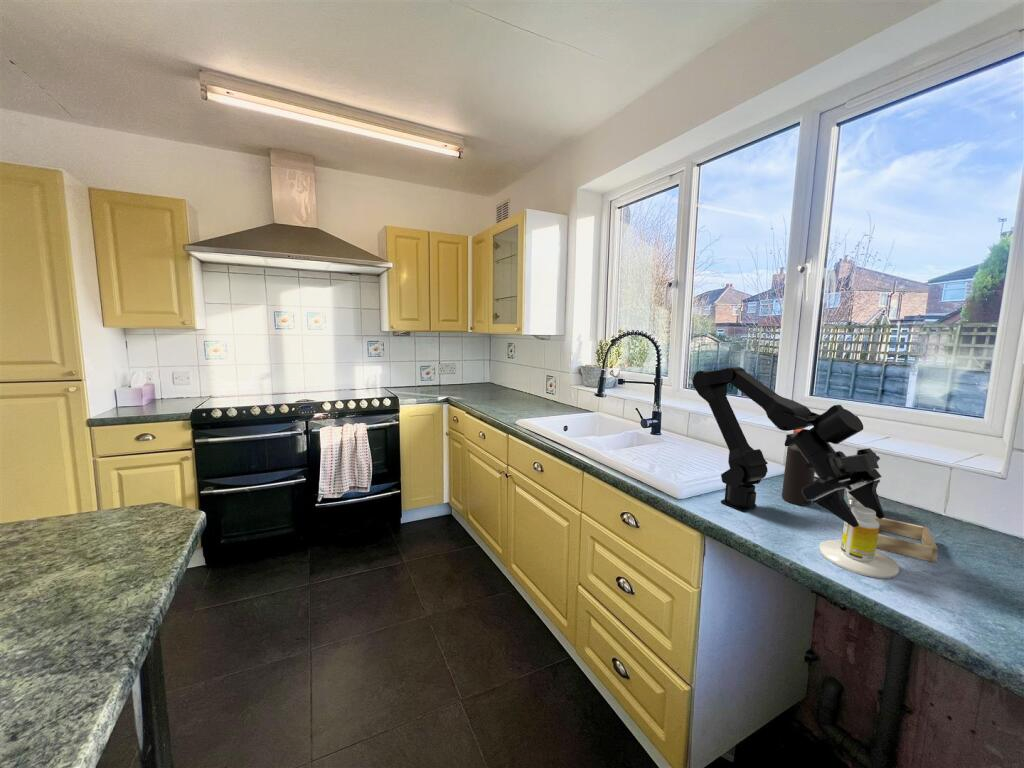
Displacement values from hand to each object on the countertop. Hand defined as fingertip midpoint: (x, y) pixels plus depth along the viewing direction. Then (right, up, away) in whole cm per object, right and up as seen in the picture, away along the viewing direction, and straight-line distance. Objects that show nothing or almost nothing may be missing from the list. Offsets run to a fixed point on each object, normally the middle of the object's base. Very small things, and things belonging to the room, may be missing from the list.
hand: (869, 522), depth 87 cm
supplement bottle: (-1, -8, +3) cm, 8 cm away
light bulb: (+19, -5, +27) cm, 33 cm away
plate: (-1, -9, +2) cm, 9 cm away
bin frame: (+14, -8, +10) cm, 18 cm away
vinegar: (+6, -4, +31) cm, 32 cm away
